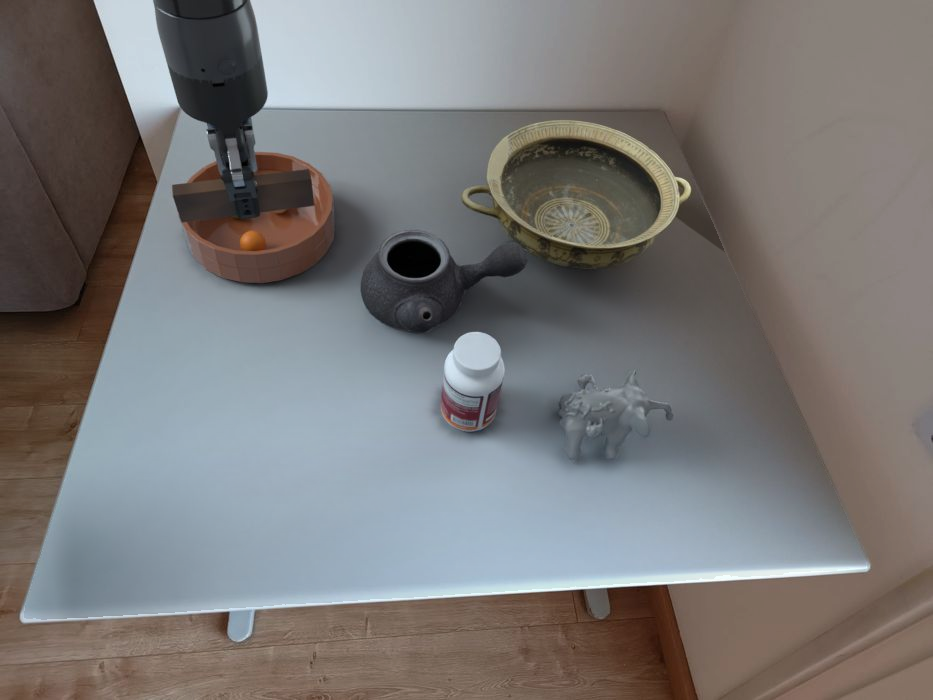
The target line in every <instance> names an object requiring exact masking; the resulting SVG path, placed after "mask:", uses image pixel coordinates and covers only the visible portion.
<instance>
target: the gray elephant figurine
mask: <svg viewBox="0 0 933 700" xmlns="http://www.w3.org/2000/svg"><path fill="white" fill-rule="evenodd" d="M636 375H637V370H635V369H634V370H632V371H631V372H630V373H629V374H628V375H627V377H626V379H625V381H624V383H623V385H621V386H619V387H618V388H610V387H609V386H607V387H605V388H604V387H600V388H599V387H598V385H597V384H596V381H595V379H594V376H593V375H592V374H591V373H590V374H586V373H584V374H580V375H579V376H578V377H577V378H576V382H577V386H578V387H579V391H578V392H577V391H574V392H572V393H571V392H569V393H565V394H562V395H561V396H560V398H559V400H558V403H557V404H558V409H559V411H558V416H559V417H561V418H560V420H559V424H560V425H561V426H562V427H563V430H564V433H565V434H566V435H565V436H566V449H565V457H566V458H567V459H568V460H570V461H577V460H578V459H579V458H580V457H581V454H582V449H581V448H582V443H583V441H584V440H585V438H586V437H589V438H595V437H597V436H598V435H603V436H604V437H605V443H604V444H603V445H604V446H603V450H602V453H603V455H604V456H605V458H607V459H608V460H614V459H616V458H617V457H618V455H619V451H620V448H621V446H622V445H623V444H624V442H625V441H626V439H627V437H628V436H629V435H630V434H631V433H632V431H634V432H635V433H636V434H637V435H638V436H639V437H641V438H643V439H645V438H648V437H649V436H650V435H651V425H650V423H649V421H648V419H647V416H648V415H649V413H650V412H651V411H653V410H663V411H664V413H665V419H666V421H668V422H670V421H672V420H673V419H674V413H673V409H672V405H670V404H669V403H668V402H662V401H654V400H652V399H650V398H649V397H648V395H647V394H646V393H645V391H643V390H642V389H641V388H640V386H639V383H638V378H637V377H636ZM589 383H590V384H591V385H592V387H593V388H587V389H586V387H587V385H588V384H589Z"/></svg>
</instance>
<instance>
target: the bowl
mask: <svg viewBox="0 0 933 700" xmlns="http://www.w3.org/2000/svg"><path fill="white" fill-rule="evenodd" d="M254 152H255V157H256V162H257V171H256V172H254V175H262V174H270V173H279V172H288V171H297V170H305V169H309V171H310V175H311V179H312V188H313V197H314V206H309V207H301V208H293V209H287V210H286V211H285V212H283V213H274V212H272V211H269V212H261V213H260V215H259V216H258V217H256V218H248V219H235V218H232V217H230V216H229V217H221V218H213V219H205V220H198V221H190V222H181V220H180V217H179V216H178V219H179V222H180V226H181V228H182V232H183V235H184V238H185V241H186V244H187V248H188V249H189V251H190V253H191V255H192V257H193V258H194V260H195V261H196V262H197V263H198V264H199V265H201V266H202V267H203V268H204V269H205V270H206V271H208V272H210V273H212V274H213V275H216V276H218V277H220V278H223V279H226V280H230V281H234V282H237V283H250V284H251V283H252V284H264V283H265V284H266V283H271V282H272V283H273V282H279V281H284V280H286V279H289V278H292V277H294V276H297V275H300V274H302V273H304V272H305V271H307V270H308V269H310V268H312V267H313V266H315V265H316V264H317V263H319V261H321V259H322V258H323V257H324V256H325V255H326V254H327V253H328V251H329V249H330V247H331V245H332V243H333V242H334V239H335V231H336V221H335V220H336V218H335V207H334V195H333V192H332V188H331V184H330V183H329V181H328V180H327V179H326V178H325V176H324V175H323V173H322V172H321V171H320V170H318V169H317V168H316V167H314V166H313V165H312V164H310V163H309V162H306V161H304V160H303V159H299V158H297V157H295V156H292V155H288V154H285V153H284V154H283V153H280V152H272V151H271V152H269V151H254ZM218 179H221V174H220V173H219V169H218V165H217V161H216V160H215V161H213V162H211V163H208V164H207V165H205V166H203V167H202V168H200V169H199V170H198V171H197V172H195V173H194V174H193V175H192V176H191V177H190V178H189V179H188V180H187V182H186V183H192V182H200V181H209V180H218ZM248 231H257V232H259V233H260V234H262V235H263V237H264V238H265V241H266V246H265V249H264V250H261V251H243V250H242V248H241V246H240V240H241V237H242V236H243V234H245V233H246V232H248Z"/></svg>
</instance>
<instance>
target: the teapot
mask: <svg viewBox="0 0 933 700" xmlns="http://www.w3.org/2000/svg"><path fill="white" fill-rule="evenodd" d="M527 264H528V256H527V254H526V250H525V249H524V248H523V247H522V246H521V245H520V244H518V243H516V242H515V241H508V242H507V241H506V242H505V243H503V244H500V245H498V246H497V247H495V248H494V249H493V250H492V251H491V252H490V253H489V254H488V255H487V256H486V257H485V258H484V259H483V260H482V261H480V262H476V263H470V264H469V263H467V264H463V265H458V264H457V263H456V260H455V259H454V257H453V256H452V255H451V252H450V251H449V247H448V246H447V244H446V243H445V241H443V240H442V239H441V238H440V237H438V236H437V235H435V234H433V233H431V232H429V231H425V230H421V229H405V230H400V231H397V232H394V233H392V234H390V235H389V236H387V238H385V239H384V240H382V242H381V243H380V245H379V248H378V250H377V251H376V252H375V253H374V254H373V255H372V257H371V258H370V259H369V261H368V262H367V263H366V265H365V267H364V269H363V272H362V275H361V279H360V295H361V299H362V302H363V304H364V306H365V308H366V310H367V311H368V313H369V314H371V315H372V317H373V318H374V319H376V320H377V321H378V322H379V323H381V324H383V325H385V326H387V327H390V328H393V329H396V330H401V331H408V332H410V333H411V332H412V333H414V334H425V333H428V332H430V331H431V330H433V329H435V328H436V327H439V326H442V325H443V324H445V323H447V322H449V320H450V319H452V318H453V317H454V315H455V314H456V313H457V312H458V311H459V309H460V307H461V304H462V302H463V300H464V296H465V292H467V291H468V290H470V289H472V288H473V287H474V286H475V285H477V284H478V283H480V282H481V281H482V280H483V279H485V278H490V277H500V278H509V277H513V276H515V275H518V274H519V273H521V272H523V270H524V269H525V268H526V266H527Z"/></svg>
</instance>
